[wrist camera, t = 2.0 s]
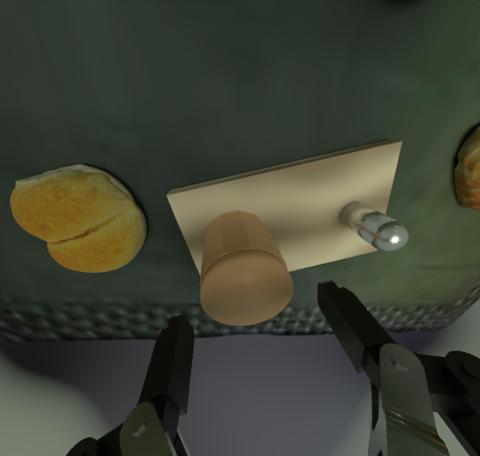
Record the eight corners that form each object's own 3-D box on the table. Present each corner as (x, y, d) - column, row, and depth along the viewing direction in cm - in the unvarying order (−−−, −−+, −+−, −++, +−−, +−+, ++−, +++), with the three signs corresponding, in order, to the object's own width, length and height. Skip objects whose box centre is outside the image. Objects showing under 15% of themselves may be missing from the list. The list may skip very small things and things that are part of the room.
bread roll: (87, 265, 18) (57, 298, 15) (13, 180, 14) (-55, 197, 10) (166, 245, 18) (154, 273, 15) (117, 153, 14) (83, 161, 10)
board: (170, 189, 15) (166, 195, 14) (386, 140, 16) (402, 141, 14) (207, 280, 21) (206, 291, 20) (366, 243, 21) (376, 250, 20)
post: (340, 204, 16) (387, 233, 12) (365, 198, 16) (423, 225, 12) (338, 227, 18) (380, 261, 13) (361, 221, 18) (412, 253, 13)
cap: (196, 219, 15) (185, 273, 10) (263, 204, 15) (291, 248, 10) (214, 270, 18) (214, 333, 13) (270, 256, 18) (295, 314, 13)
